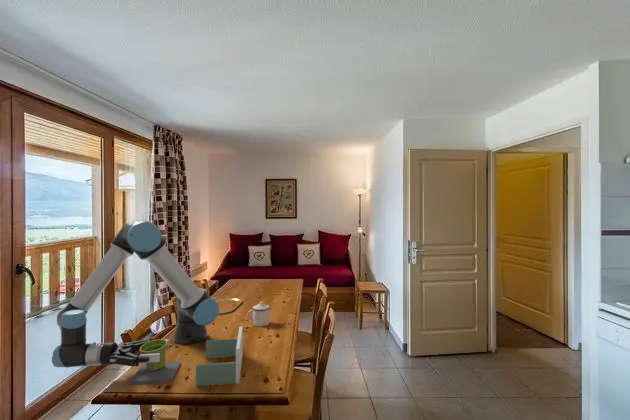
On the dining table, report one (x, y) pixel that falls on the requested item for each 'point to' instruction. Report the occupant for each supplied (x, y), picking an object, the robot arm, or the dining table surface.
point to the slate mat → (156, 374)
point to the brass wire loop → (229, 299)
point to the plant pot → (155, 348)
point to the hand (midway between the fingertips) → (164, 350)
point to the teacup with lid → (260, 314)
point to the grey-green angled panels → (221, 371)
